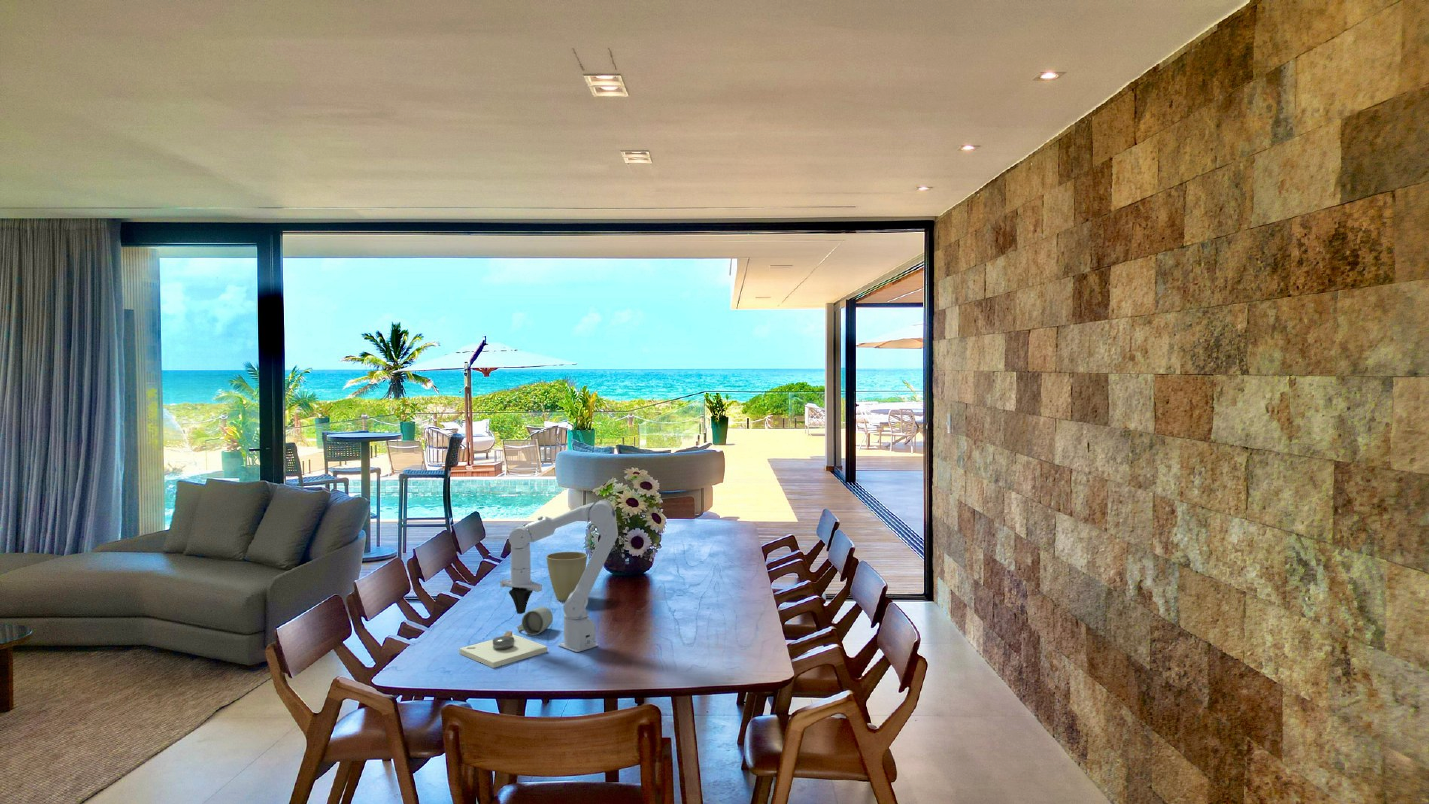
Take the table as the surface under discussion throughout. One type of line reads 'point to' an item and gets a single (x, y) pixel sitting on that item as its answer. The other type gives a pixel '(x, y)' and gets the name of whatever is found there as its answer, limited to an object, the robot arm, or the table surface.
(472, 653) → the base
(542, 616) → the ceramic mug
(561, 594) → the plant pot
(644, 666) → the table surface
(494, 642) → the twist handle
